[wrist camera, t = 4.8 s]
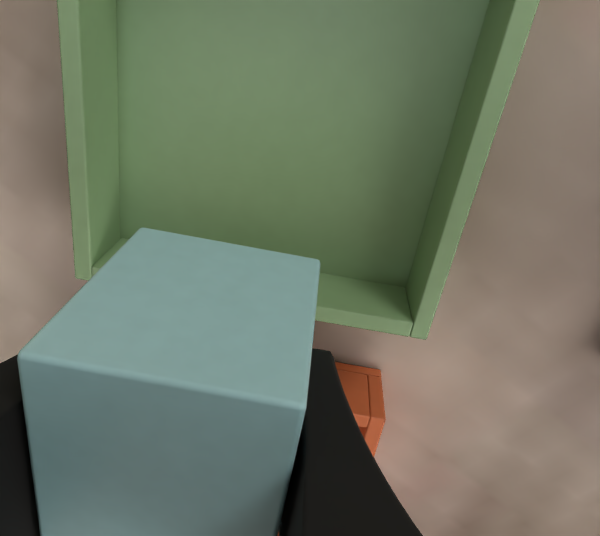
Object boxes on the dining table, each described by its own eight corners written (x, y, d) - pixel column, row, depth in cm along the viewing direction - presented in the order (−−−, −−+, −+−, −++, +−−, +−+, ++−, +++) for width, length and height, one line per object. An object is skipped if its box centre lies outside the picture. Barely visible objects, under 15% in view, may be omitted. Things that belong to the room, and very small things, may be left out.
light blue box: (321, 258, 11) (307, 406, 7) (285, 436, 13) (257, 625, 9) (140, 225, 11) (12, 353, 7) (138, 409, 13) (44, 586, 9)
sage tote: (528, -72, 14) (572, -94, 11) (415, 296, 19) (426, 340, 17) (101, -146, 14) (43, -186, 11) (111, 243, 19) (74, 279, 17)
